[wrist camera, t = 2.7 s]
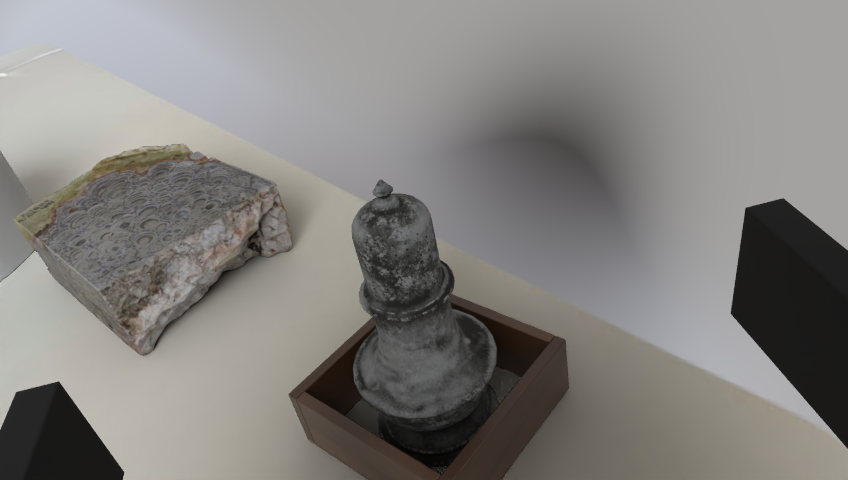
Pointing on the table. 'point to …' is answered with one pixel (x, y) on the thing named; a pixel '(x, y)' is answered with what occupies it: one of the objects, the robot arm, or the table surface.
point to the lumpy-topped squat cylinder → (11, 220)
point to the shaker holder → (487, 450)
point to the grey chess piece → (417, 335)
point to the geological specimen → (153, 234)
